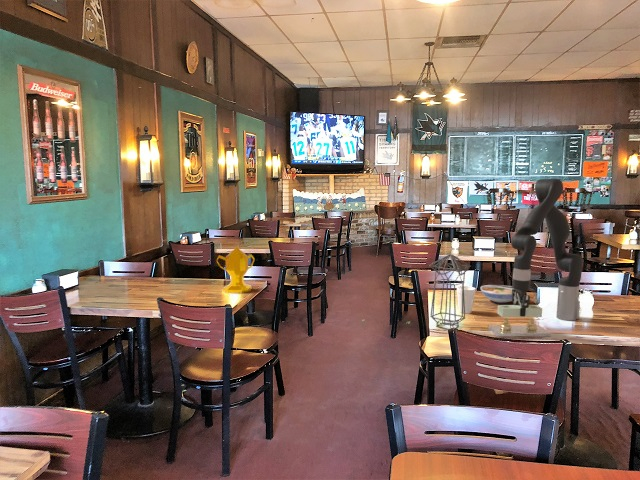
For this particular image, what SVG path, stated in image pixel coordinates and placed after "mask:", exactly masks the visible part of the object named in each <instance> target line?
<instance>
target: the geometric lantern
mask: <svg viewBox="0 0 640 480" xmlns="http://www.w3.org/2000/svg"><path fill="white" fill-rule="evenodd" d="M449 259H450V261H451V263H448V261H449ZM459 261H460V262H461V263H462V264H461V263H460V262H459ZM443 264H444V265H443ZM428 266H429V267H430V268H432V270H433V271H435V272H434V281H433V282H434V283H433V284H434V285H433V291H432V292H433V293H432V300H431V308H430V318H432V320H434V322H435V323H436V324H435V325H436V326H435V327H436V328H440V329H445V330H448V328H446V327H441V326H440V324H441V325H446V326H449V327H450V328H451V329H452V327H453V328H454V326H455V327H457V328H458V327H460V326H459V325H460V324H459V323H461V322H462V321H464V320H465V319H466V314H465V303H464V286H465V285H464V284H465V276H466V275H465V274H466V272H468V270H469V268H471V267H472V265H470V264H468V263H467V262H465V261H463V260H462V259H461V258H459V257H457V256H455V255H454V254H451V253H450V254H449V253H448V254H447V255H446V256H443V257H442V258H441V257H440V258H439V259H437V260H436V261H434V262H432V263H430V264H428ZM443 266H444V267H443ZM446 266H448V267H449V268H446ZM441 269H443V271H442V272H443V273H442V272H441ZM446 270H447V271H446ZM463 270H464V271H463ZM445 271H446V272H445ZM454 272H456V273H458V275H457V277H455V279H450V278H451V277H452V275H453V274H454ZM448 273H450V275H449V276H447V274H448ZM439 275H440V276H441V278H442V279H439V280H437V278H438V277H439ZM443 276H445V277H446V278H444V277H443ZM462 276H463V277H462ZM458 278H459V279H460V280H458ZM462 278H463V280H462ZM441 281H443V282H441ZM445 281H446V283H445ZM451 281H454V282H453V283H452V282H451ZM456 282H459V283H456ZM436 283H437V284H442V290H441V300H440V301H441V302H440V309H439V310H440V311H439V313H436V314H434V312H435V299H436V298H435V297H436ZM455 283H456V284H455ZM445 285H446V291H445V292H446V294H445V297H446V298H445V312H442V309H443V299H444V287H445ZM457 285H459V286H460V285H461V286H462V313H461V315H460V314H456V286H457ZM452 286H453V306H454V309H453V310H454V311H453V312H454V313H451V306H452V304H451V303H452V299H451V298H452V297H451V296H452ZM448 288H449V289H448ZM448 290H449V302H448ZM448 303H449V304H448ZM448 305H449V306H448ZM447 306H448V307H449V308H448V307H447ZM463 307H464V313H463ZM447 308H448V309H449V311H448V309H447ZM447 311H448V312H447ZM443 314H444V317H443ZM437 315H440V316H441V318H439V317H435V316H437ZM447 315H448V319H447V318H446V317H447ZM451 316H454V320H452V319H451ZM456 317H460V318H459V319H457V318H456ZM437 320H438V321H437ZM446 323H447V324H446ZM451 324H452V325H451ZM450 328H449V329H450Z"/></svg>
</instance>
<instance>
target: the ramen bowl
mask: <svg viewBox="0 0 640 480" xmlns="http://www.w3.org/2000/svg"><path fill="white" fill-rule="evenodd" d="M486 284H487V285H481V286H480V291H481V292H482V294H483V297H486V299H488V300H490V301H492V302H494V303H497V304H506V303H510V302H512V289H514V288H513V287H512V285H503V284H502V285H501V284H495V283H494V284H492V283H490V284H489V283H487V282H486ZM528 291H530V289H529V290H527V291H526V292H528Z"/></svg>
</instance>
